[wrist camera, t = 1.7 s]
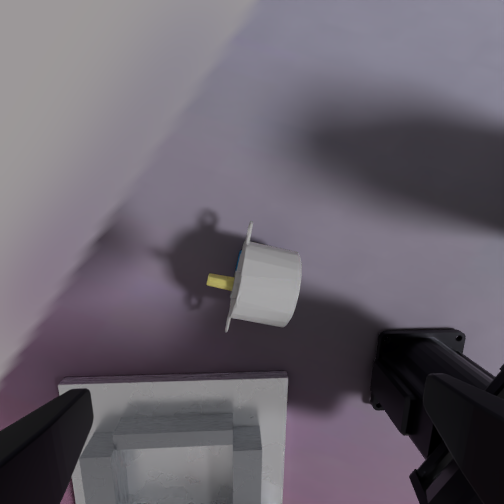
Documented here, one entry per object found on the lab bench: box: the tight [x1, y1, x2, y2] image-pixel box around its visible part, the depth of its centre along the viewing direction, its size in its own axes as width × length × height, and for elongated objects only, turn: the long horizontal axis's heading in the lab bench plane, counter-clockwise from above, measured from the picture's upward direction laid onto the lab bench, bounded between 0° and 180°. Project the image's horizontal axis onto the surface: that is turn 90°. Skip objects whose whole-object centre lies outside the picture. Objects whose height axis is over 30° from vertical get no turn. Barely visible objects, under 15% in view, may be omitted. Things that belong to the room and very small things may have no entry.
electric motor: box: [207, 221, 302, 332], centre depth 17 cm, size 7×5×5 cm
